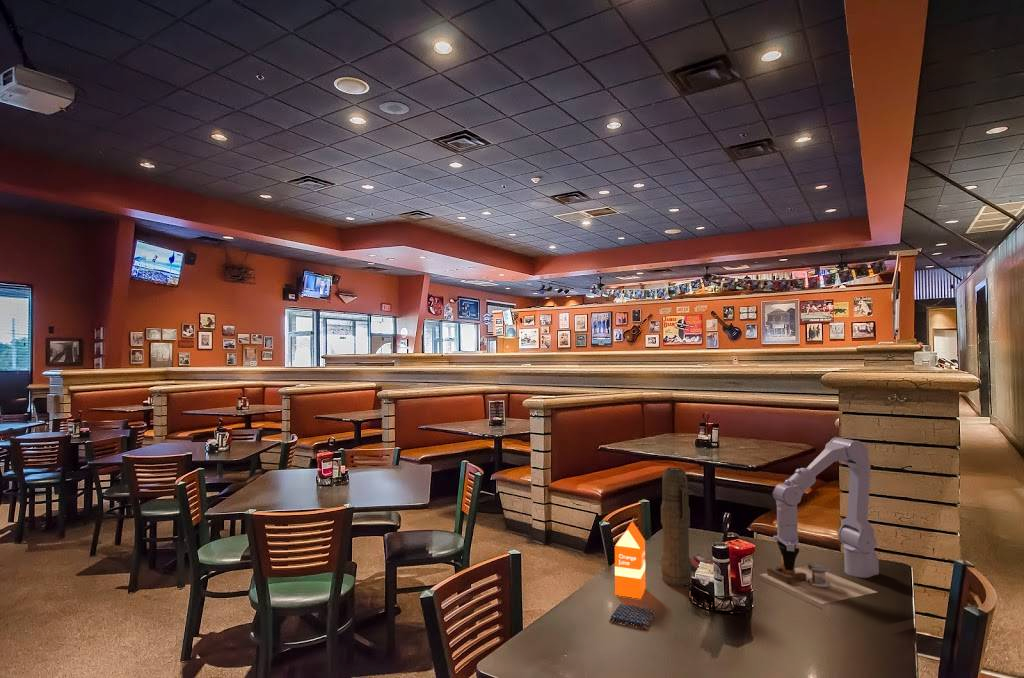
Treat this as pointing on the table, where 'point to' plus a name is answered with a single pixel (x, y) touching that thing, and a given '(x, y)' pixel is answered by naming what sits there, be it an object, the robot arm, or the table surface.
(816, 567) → the bobbin
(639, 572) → the orange juice
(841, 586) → the jig board
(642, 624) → the woven mat
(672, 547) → the thermos
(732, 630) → the table surface
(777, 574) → the notch block
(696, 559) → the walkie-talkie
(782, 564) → the peg
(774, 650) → the table surface
